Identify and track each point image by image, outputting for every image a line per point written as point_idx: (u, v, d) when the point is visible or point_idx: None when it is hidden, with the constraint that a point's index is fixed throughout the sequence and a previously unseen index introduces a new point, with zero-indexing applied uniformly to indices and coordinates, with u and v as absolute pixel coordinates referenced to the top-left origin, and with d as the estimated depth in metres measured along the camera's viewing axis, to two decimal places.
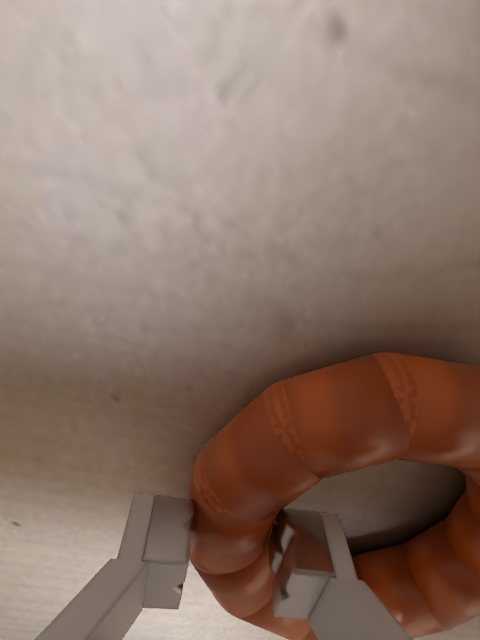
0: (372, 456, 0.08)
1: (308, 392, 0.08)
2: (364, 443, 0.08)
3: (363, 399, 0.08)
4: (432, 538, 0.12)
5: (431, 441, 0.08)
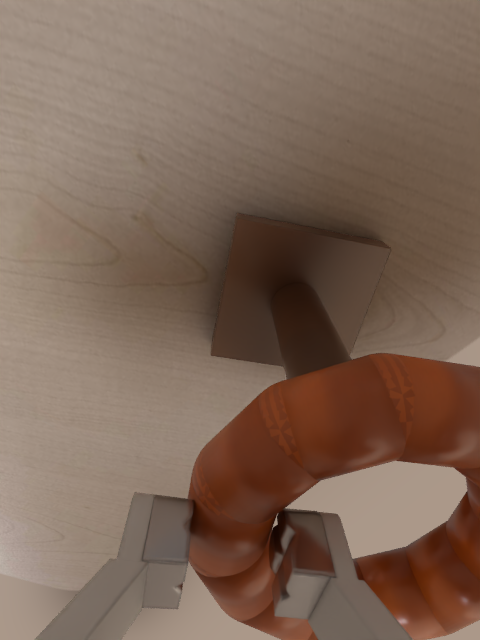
0: (369, 457, 0.08)
1: (304, 393, 0.08)
2: (361, 444, 0.08)
3: (359, 400, 0.08)
4: (434, 540, 0.12)
5: (428, 441, 0.08)
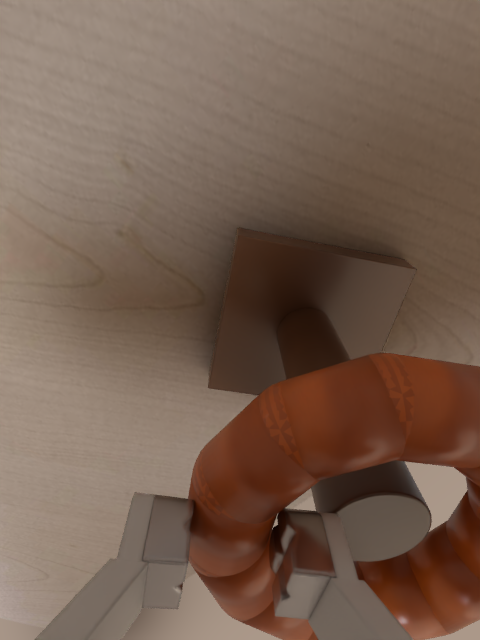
0: (369, 457, 0.08)
1: (304, 393, 0.08)
2: (360, 444, 0.08)
3: (359, 400, 0.08)
4: (434, 540, 0.12)
5: (428, 441, 0.08)
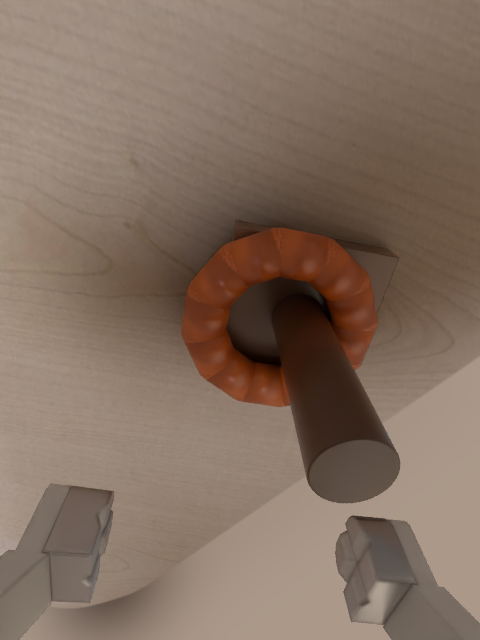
0: (265, 267, 0.18)
1: (238, 242, 0.18)
2: (261, 260, 0.18)
3: (261, 241, 0.18)
4: None
5: (290, 259, 0.18)
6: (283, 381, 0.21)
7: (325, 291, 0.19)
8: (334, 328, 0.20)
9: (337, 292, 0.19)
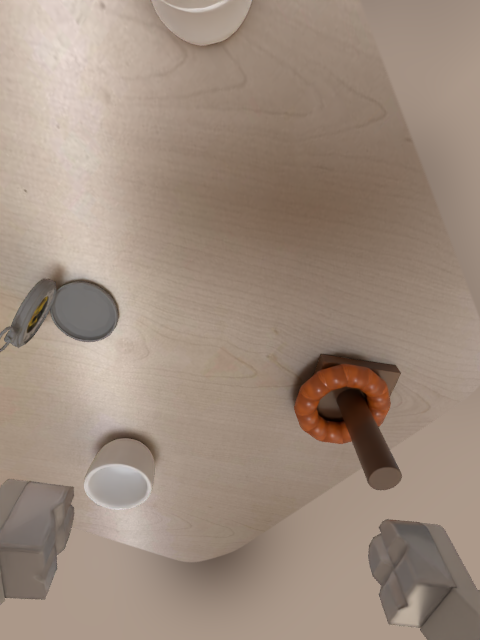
0: (340, 384, 0.39)
1: (327, 372, 0.40)
2: (338, 382, 0.39)
3: (338, 373, 0.39)
4: None
5: (352, 381, 0.39)
6: (343, 431, 0.43)
7: (366, 393, 0.41)
8: (369, 407, 0.42)
9: (372, 394, 0.40)
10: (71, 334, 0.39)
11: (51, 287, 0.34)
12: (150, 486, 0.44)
